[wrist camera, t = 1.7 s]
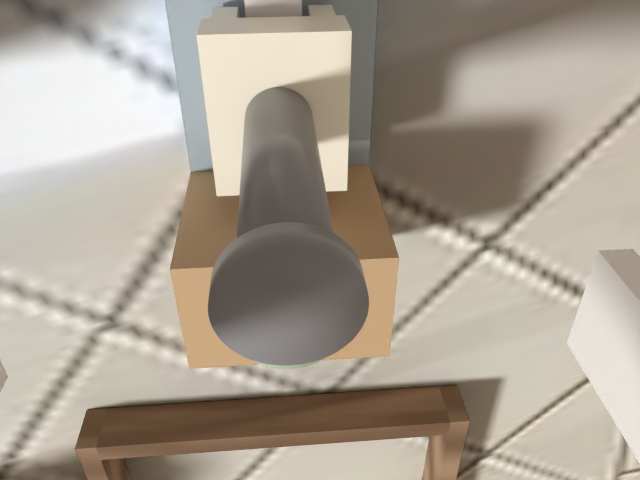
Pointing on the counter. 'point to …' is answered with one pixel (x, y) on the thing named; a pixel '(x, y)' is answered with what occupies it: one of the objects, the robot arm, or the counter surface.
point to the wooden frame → (276, 427)
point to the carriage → (281, 183)
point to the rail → (222, 211)
